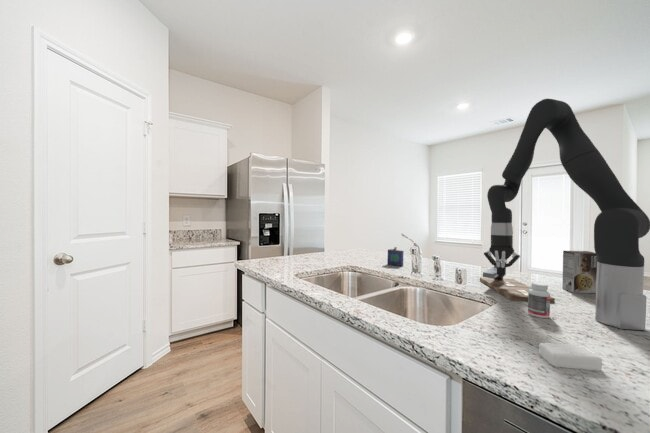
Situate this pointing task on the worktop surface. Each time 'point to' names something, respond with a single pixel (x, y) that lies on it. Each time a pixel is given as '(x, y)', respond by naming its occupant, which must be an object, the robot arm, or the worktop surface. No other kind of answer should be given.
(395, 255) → the flask
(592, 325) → the worktop surface
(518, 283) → the label board
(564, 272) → the coffee box
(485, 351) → the worktop surface
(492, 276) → the swing arm
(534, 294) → the pill bottle
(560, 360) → the soap
